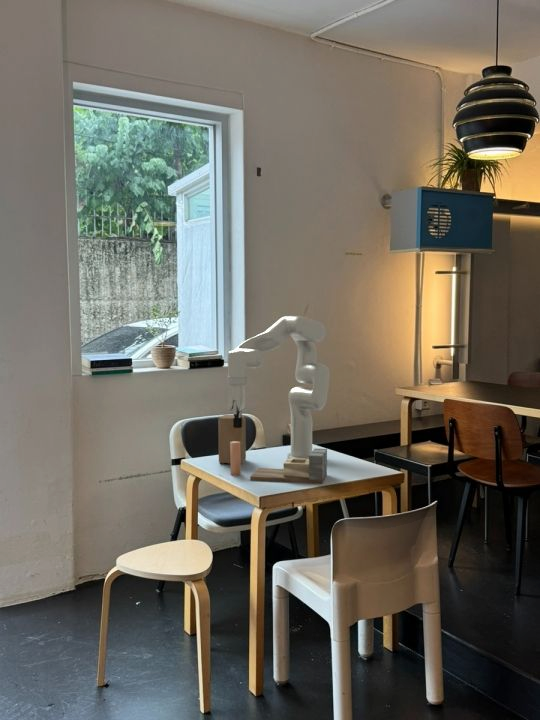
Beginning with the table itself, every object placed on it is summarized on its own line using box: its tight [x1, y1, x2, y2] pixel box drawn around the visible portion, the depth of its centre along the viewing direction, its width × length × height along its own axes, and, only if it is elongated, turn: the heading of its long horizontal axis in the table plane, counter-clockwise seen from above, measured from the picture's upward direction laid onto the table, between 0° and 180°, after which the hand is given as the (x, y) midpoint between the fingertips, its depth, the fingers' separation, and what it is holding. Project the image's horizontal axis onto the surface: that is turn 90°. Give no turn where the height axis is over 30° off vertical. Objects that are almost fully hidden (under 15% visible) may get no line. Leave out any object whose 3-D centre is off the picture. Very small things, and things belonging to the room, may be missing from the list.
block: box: [217, 414, 247, 465], centre depth 298 cm, size 10×10×20 cm
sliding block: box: [283, 457, 309, 477], centre depth 271 cm, size 10×10×5 cm
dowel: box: [230, 441, 242, 476], centre depth 277 cm, size 4×4×13 cm
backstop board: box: [249, 448, 328, 485], centre depth 271 cm, size 14×28×10 cm, turn 78°
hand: (237, 427), depth 275 cm, fingers closed
